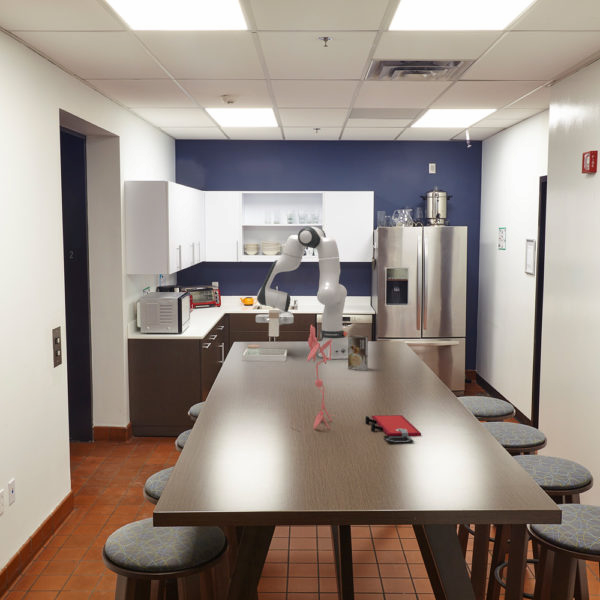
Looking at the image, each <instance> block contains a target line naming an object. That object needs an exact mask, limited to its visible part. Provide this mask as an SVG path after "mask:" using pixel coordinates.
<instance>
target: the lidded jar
mask: <svg viewBox="0 0 600 600" xmlns="http://www.w3.org/2000/svg"><path fill="white" fill-rule="evenodd" d="M260 347H261V345H260V344H254V343H253V344H247V349H248V355H259V349H260Z"/></svg>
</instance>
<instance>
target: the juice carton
mask: <svg viewBox="0 0 600 600" xmlns="http://www.w3.org/2000/svg"><path fill="white" fill-rule="evenodd" d="M268 313H269V323H268V337H279V336H280V325H279V309H272V308H269V309H268Z"/></svg>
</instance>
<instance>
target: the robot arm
mask: <svg viewBox="0 0 600 600" xmlns="http://www.w3.org/2000/svg"><path fill="white" fill-rule="evenodd" d="M284 244H285V245H284V247H283V250H282V254H281V256H280V257H279V258H278V259H276V260H274V261H273V263H272V265H271V267H270V269H269V271H268V273H267V274H266V277H265V279H264V282H263V284H262V286H261V287H260V289H259V290H258V292H257V295H256V300H257V302H258V303H259V305H261V306H265V307H271V309H279V326H282V325H289V324H294V319H295V318H294V317H295V316H294V315H293V313H292V311H289V309H290V305H291V296H290V294H289V293H288V292H285V291H281V290H277V289H273V288H271V284H272V282H273V281H274V278H275V276H276V275H277V274H279V273H283V272H291V271H295V270H297V269H298V268H299V267H300V265H301V263H302V260H303V256H304V252H305V250H306V249H307V248H311V249H315V250H316V251H317V256H318V268H319V283H318V291H317V294H316V297H317V301H318V302H319V303H320V305H321V304H322V305H324V308H323V311H322V315H321V329H320V347H322V346H323V345H324V344H325V343H326V342H327V341H329V340H330V339H331V340H332V341H331V360H342V359H343V360H346V359H347V360H348V337H347V335H348V332H347V331H345V330H343V314H344V308H345V302H346V298H347V295H348V291H347V288H346V287H345V286H344V285H343V284H341V283H339V281H340V275H341V263H340V254H339V248H338V244H337V241H336V239H334V238H332V237H326V233H325V231H324V230H323V228H320V227H316V226H305V227H303V228H301V229H300V230H299V232H298V233H297V234H291V235H290V236H288V238H287V240H286V242H285V243H284ZM255 323H258V324H259V323H261V324H262V323H263V324H264V323H266V324H267V323H268V324H269V312H268V313H267V314H266V313H265V314H256V315H255ZM323 352H324V354H325V355H326V357H328V358H329V355H330V344H329V346H328V347H327V348H326V349H324V350H323ZM318 357H320V358H323V357H322V354H321V353H319V352H318ZM324 358H325V357H324Z"/></svg>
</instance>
